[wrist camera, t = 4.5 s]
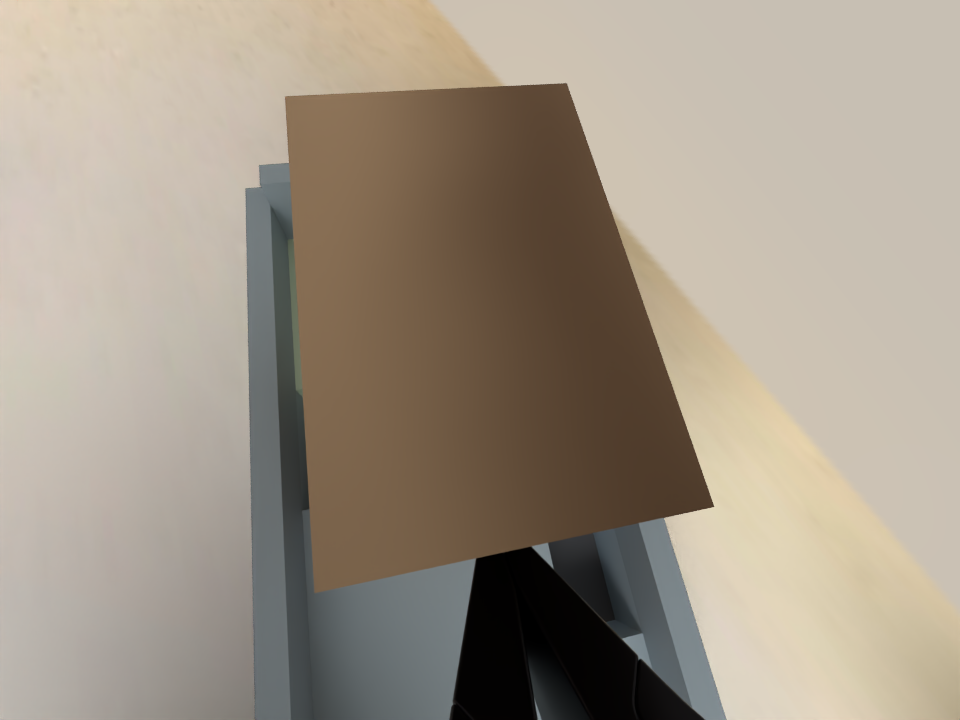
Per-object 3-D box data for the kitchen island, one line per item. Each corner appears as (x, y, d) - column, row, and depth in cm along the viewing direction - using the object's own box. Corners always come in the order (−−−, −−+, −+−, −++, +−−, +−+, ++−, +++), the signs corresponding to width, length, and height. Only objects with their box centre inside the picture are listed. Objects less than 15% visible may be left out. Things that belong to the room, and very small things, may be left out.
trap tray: (319, 922, 13) (240, 1191, 8) (284, 260, 20) (233, 166, 15) (684, 802, 14) (822, 953, 9) (530, 234, 22) (560, 144, 17)
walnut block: (393, 549, 14) (315, 592, 5) (369, 344, 16) (284, 96, 7) (535, 520, 15) (714, 506, 5) (493, 328, 17) (566, 82, 8)
